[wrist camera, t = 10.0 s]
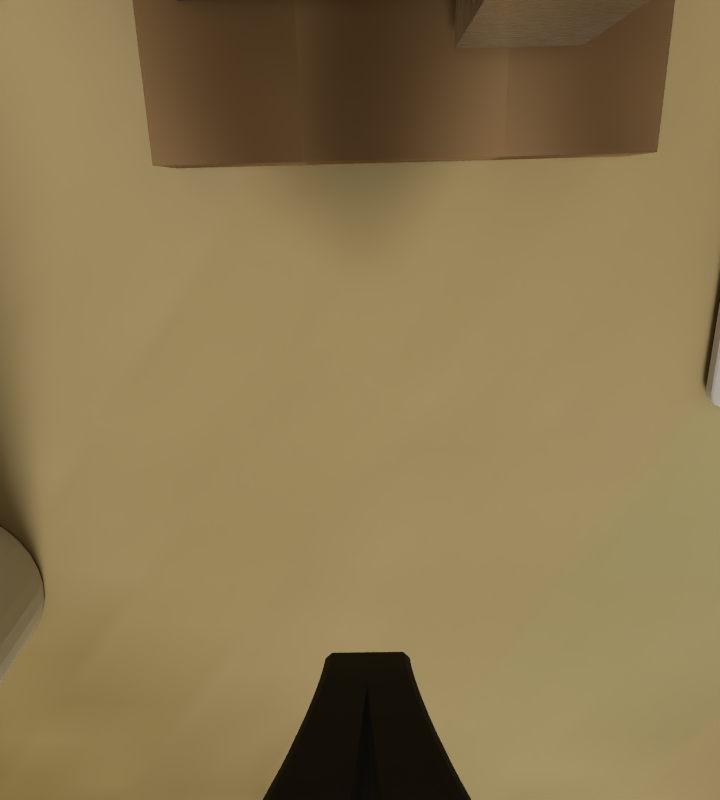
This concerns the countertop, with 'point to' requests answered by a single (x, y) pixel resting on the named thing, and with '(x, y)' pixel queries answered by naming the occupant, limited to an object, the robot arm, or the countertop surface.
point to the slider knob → (535, 21)
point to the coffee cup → (17, 599)
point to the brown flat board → (387, 85)
